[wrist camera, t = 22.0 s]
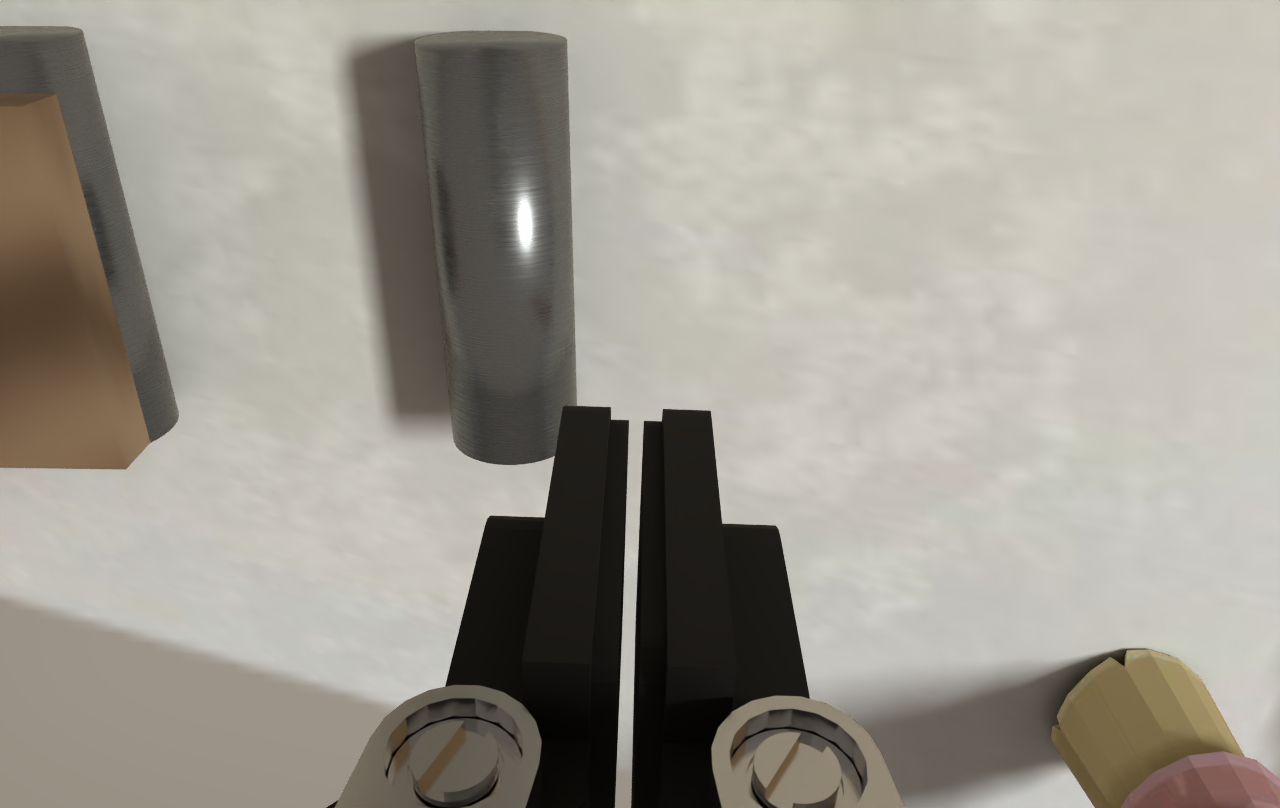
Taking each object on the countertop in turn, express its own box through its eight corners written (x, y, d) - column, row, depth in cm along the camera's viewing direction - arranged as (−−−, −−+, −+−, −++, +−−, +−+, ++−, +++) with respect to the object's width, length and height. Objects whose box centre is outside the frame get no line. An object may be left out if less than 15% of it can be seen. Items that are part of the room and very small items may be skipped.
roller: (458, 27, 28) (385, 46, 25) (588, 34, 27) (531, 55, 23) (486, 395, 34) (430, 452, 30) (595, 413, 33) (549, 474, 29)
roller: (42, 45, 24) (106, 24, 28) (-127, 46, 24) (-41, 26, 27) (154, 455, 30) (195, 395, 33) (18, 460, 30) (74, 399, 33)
